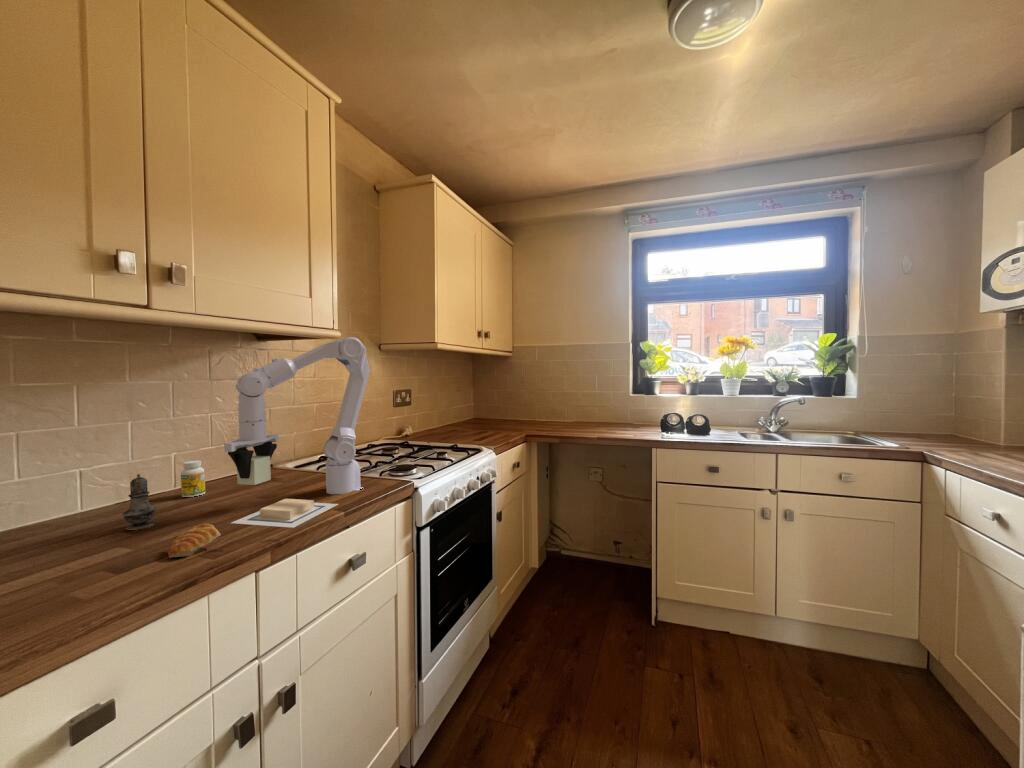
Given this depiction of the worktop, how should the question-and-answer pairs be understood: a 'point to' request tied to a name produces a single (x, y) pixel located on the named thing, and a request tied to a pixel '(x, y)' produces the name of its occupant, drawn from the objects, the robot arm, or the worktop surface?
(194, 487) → the supplement bottle
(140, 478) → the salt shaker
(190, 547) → the pastry
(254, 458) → the sage block
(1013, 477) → the worktop surface
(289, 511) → the maple plinth
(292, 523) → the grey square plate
